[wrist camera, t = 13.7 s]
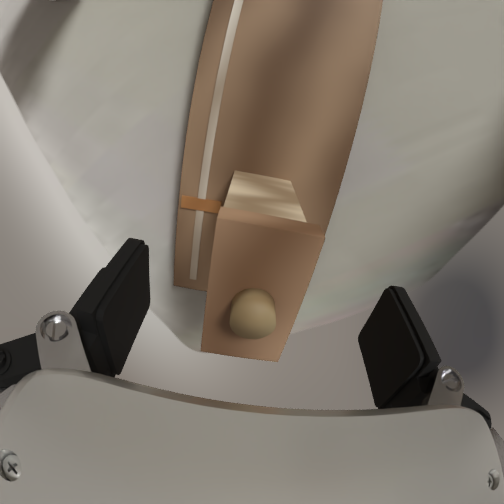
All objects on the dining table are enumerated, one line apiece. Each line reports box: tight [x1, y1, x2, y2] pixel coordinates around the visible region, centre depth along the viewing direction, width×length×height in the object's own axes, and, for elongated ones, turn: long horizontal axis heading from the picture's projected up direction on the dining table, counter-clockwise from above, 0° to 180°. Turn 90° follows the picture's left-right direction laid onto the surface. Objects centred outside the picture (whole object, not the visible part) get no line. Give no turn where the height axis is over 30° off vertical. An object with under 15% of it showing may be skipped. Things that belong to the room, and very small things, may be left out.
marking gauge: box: [201, 171, 325, 362], centre depth 14 cm, size 4×6×10 cm, turn 169°
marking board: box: [174, 0, 383, 291], centre depth 15 cm, size 10×28×2 cm, turn 169°
